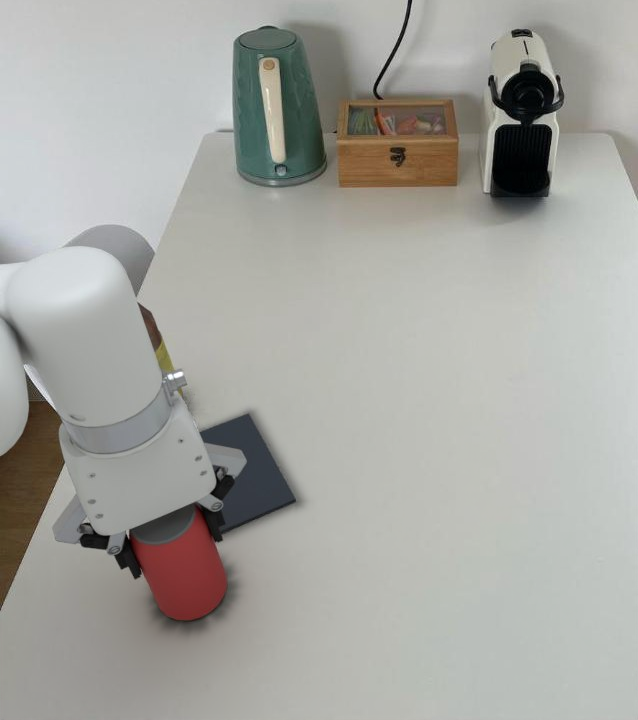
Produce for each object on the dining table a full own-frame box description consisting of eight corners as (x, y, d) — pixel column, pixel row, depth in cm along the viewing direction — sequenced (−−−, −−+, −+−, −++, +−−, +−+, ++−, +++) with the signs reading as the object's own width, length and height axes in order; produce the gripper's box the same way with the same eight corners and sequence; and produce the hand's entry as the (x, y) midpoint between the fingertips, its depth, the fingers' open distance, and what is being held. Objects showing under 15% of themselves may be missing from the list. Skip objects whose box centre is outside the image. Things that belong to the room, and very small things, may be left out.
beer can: (242, 579, 77) (217, 502, 69) (196, 636, 73) (163, 561, 64) (190, 550, 79) (159, 473, 71) (142, 604, 75) (104, 528, 67)
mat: (163, 558, 79) (162, 556, 79) (127, 462, 88) (126, 459, 88) (296, 501, 83) (295, 498, 83) (249, 415, 93) (248, 413, 92)
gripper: (214, 336, 64) (253, 479, 76) (-15, 418, 59) (66, 558, 71) (246, 395, 59) (282, 537, 71) (0, 490, 54) (84, 627, 66)
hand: (174, 546), depth 71 cm, fingers closed on beer can, 6 cm apart
